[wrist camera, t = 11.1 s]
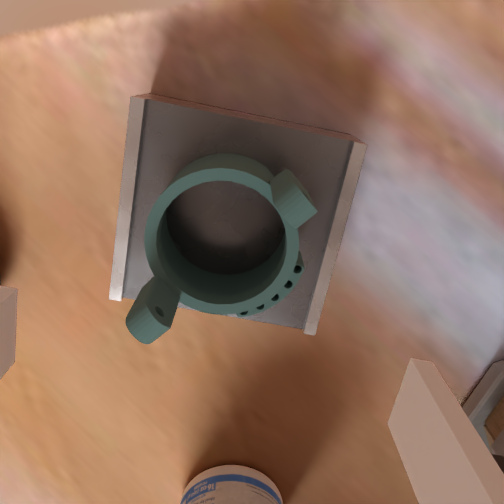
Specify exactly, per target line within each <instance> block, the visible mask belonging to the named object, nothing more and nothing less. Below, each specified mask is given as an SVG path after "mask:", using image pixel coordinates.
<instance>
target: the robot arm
mask: <svg viewBox="0 0 504 504" xmlns="http://www.w3.org/2000/svg"><path fill="white" fill-rule="evenodd" d="M17 291H18V289H16V288H10V287H5V286H0V379H1V378H2V377H3V375H4V374H5V373H6V372H7V371H8V369H9V368H10V367H11V366H12V365H13V363H14V362H15V347H16V319H17ZM387 424H388V426H389V429H390V432H391V434H392V437H393V439H394V442H395V444H396V447H397V450H398V452H399V455H400V457H401V460H402V462H403V465H404V467H405V470H406V473H407V475H408V478H409V480H410V483H411V485H412V488H413V490H414V493H415V496H416V498H417V501H418V503H419V504H504V457H503V456H501V455H495V454H491V453H490V452H489V450H488V448H487V447H486V445H485V444H484V442H483V440H482V439H481V437H480V436H479V434H478V433H477V431H476V429H475V428H474V426H473V425H472V423H471V422H470V420H469V418H468V417H467V415H466V414H465V412H464V411H463V409H462V407H461V406H460V404H459V403H458V401H457V400H456V398H455V396H454V395H453V393H452V392H451V390H450V389H449V387H448V385H447V384H446V382H445V381H444V379H443V378H442V376H441V374H440V373H439V371H438V370H437V368H436V366H435V365H434V363H433V362H432V361H426V360H421V359H415V358H410V361H409V364H408V367H407V370H406V372H405V375H404V378H403V381H402V384H401V386H400V389H399V392H398V395H397V398H396V400H395V403H394V406H393V409H392V412H391V414H390V417H389V420H388V423H387Z"/></svg>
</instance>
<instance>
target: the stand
mask: <svg viewBox="0 0 504 504" xmlns="http://www.w3.org/2000/svg"><path fill="white" fill-rule="evenodd" d="M366 149H367V144H365V143H363V142H362V141H360V140H358V139H357V138H355V137H353V136H351V135H350V134H345V133H340V132H336V131H331V130H326V129H321V128H316V127H311V126H306V125H302V124H297V123H292V122H287V121H282V120H277V119H272V118H267V117H263V116H258V115H253V114H248V113H243V112H238V111H233V110H229V109H224V108H219V107H214V106H209V105H204V104H199V103H195V102H190V101H185V100H180V99H175V98H170V97H165V96H161V95H156V94H151V93H149V94H143V95H137V96H131V97H130V106H129V116H128V125H127V134H126V144H125V153H124V162H123V172H122V181H121V190H120V200H119V209H118V218H117V228H116V237H115V246H114V256H113V265H112V274H111V284H110V293H109V299H111V300H116V301H121V300H122V299H123V297H124V298H129V299H135V300H136V298H137V296H138V294H139V292H140V290H141V288H142V287H143V286H144V285H145V284H146V283H147V282H148V281H149V280H150V279H151V278H152V277H154V275H153V273H152V271H151V269H150V267H149V264H148V261H147V257H146V253H145V245H144V235H145V227H146V223H147V219H148V216H149V214H150V211H151V209H152V207H153V205H154V204H155V202H156V201H157V199H158V198H159V196H160V195H161V194H162V192H163V191H164V190H165V189H166V187H167V186H168V185H169V184H170V182H171V181H172V180H173V179H174V177H175V176H176V175H177V174H178V173H179V172H180V171H181V170H182V169H183V168H184V167H186V166H187V165H188V164H190V163H192V162H193V161H195V160H197V159H200V158H202V157H205V156H208V155H213V154H219V153H230V154H237V155H242V156H246V157H248V158H251V159H254V160H256V161H258V162H259V163H261V164H262V165H264V166H266V167H267V169H268V170H269V171H270V172H271V173H272V175H273V176H274V177H275V176H276V175H278V174H279V173H280V172H282V171H283V170H285V169H289V170H290V171H291V172H292V173H293V174H294V175H295V177H296V178H297V179H298V180H299V182H300V183H301V184H302V185H303V186H304V188H305V189H306V190H307V191H308V193H309V195H310V197H311V199H312V201H313V203H314V205H315V207H316V209H317V213H316V214H315V215H313V216H312V217H311V218H310V219H308V220H307V221H306V222H305V223H303V224H302V225H301V226H299V227H298V228H297V229H298V233H299V251H300V252H301V255H302V259H303V262H304V266H305V269H304V271H303V273H302V275H301V277H300V279H299V281H298V283H297V284H296V285H295V287H294V288H293V290H292V291H291V292H290V293H289V294H288V295H287V296H286V297H285V298H284V299H283V300H281V301H280V302H279V303H277V304H276V305H274V306H273V307H271V308H269V309H267V310H265V311H263V312H261V313H257V314H254V315H251V316H246V317H238V316H237V315H236V314H228V315H225V316H231V317H236V318H242V319H248V320H253V321H259V322H265V323H270V324H276V325H282V326H287V327H293V328H299V329H303V333H304V334H309V335H314V336H315V334H316V330H317V326H318V323H319V319H320V316H321V312H322V308H323V305H324V301H325V297H326V294H327V290H328V287H329V283H330V279H331V276H332V272H333V268H334V265H335V261H336V257H337V254H338V250H339V247H340V243H341V239H342V236H343V232H344V228H345V225H346V221H347V218H348V214H349V210H350V207H351V203H352V199H353V196H354V192H355V188H356V185H357V181H358V178H359V174H360V170H361V167H362V163H363V159H364V156H365V152H366ZM166 220H167V228H168V231H169V234H170V237H171V239H172V241H173V243H174V245H175V247H176V248H177V249H178V251H179V252H180V253H181V255H182V256H183V257H185V258H186V259H187V260H188V261H189V262H190V263H192V264H193V265H195V266H197V267H198V268H200V269H203V270H205V271H208V272H211V273H216V274H223V275H233V274H240V273H244V272H247V271H250V270H252V269H254V268H256V267H258V266H260V265H262V264H263V263H264V262H265V261H267V260H268V259H269V258H270V257H271V256H272V255H273V254H274V252H275V251H276V250H277V248H278V247H279V245H280V243H281V241H282V239H283V236H284V233H285V227H284V224H283V221H282V219H281V216H280V215H279V213H278V212H277V210H276V208H275V207H274V206H273V205H272V204H271V203H270V201H269V200H268V199H267V198H266V197H264V196H263V195H262V194H260V193H259V192H257V191H256V190H254V189H252V188H250V187H248V186H246V185H244V184H240V183H236V182H232V181H210V182H204V183H201V184H198V185H195V186H192V187H191V188H189V189H187V190H185V191H183V192H182V193H181V194H179V195H178V196H177V197H176V198H175V199H174V200H172V202H171V203H170V204H169V206H168V207H167V212H166ZM177 307H180V308H186V309H191V310H195V309H192V308H190V307H188V306H186V305H184V304H182V303H180V302H179V303H178V306H177ZM197 311H198V310H197Z"/></svg>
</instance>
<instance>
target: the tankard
mask: <svg viewBox="0 0 504 504" xmlns="http://www.w3.org/2000/svg"><path fill="white" fill-rule="evenodd" d="M462 409H463V411H464V412H465V414H466V415H467V417H468V418H469V420H470V422H471V423H472V425H473V426H474V428H475V429H476V431H477V433H478V434H479V436H480V437H481V439H482V440H483V442H484V444H485V445H486V447H487V448H488V450H489V452H490V453H491V454H495V455H501V456H503V457H504V360H501V361H498V362H495V363H493V364H492V366H491V367H490V368H489V370H488V371H487V373H486V374H485V376H484V377H483V378H482V380H481V381H480V383H479V384H478V385H477V387H476V388H475V390H474V391H473V393H472V394H471V395H470V397H469V398H468V400H467V401H466V402H465V404H464V405H463V407H462Z"/></svg>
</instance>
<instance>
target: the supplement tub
mask: <svg viewBox="0 0 504 504" xmlns="http://www.w3.org/2000/svg"><path fill="white" fill-rule="evenodd" d="M180 504H283V502H282V497H281V494H280V492H279V490H278V488H277V487H276V485H275V484H274V483H273V482H272V480H271V479H269V478H268V477H267V476H266V475H264V474H263V473H261V472H259V471H257V470H255V469H252V468H249V467H246V466H240V465H222V466H217V467H213V468H210V469H208V470H205V471H203V472H202V473H200V474H198V475H197V476H196V477H195V478H193V479H192V480H191V481H190V483H189V484H188V485H187V487H186V488H185V490H184V492H183V495H182V498H181V503H180Z"/></svg>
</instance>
